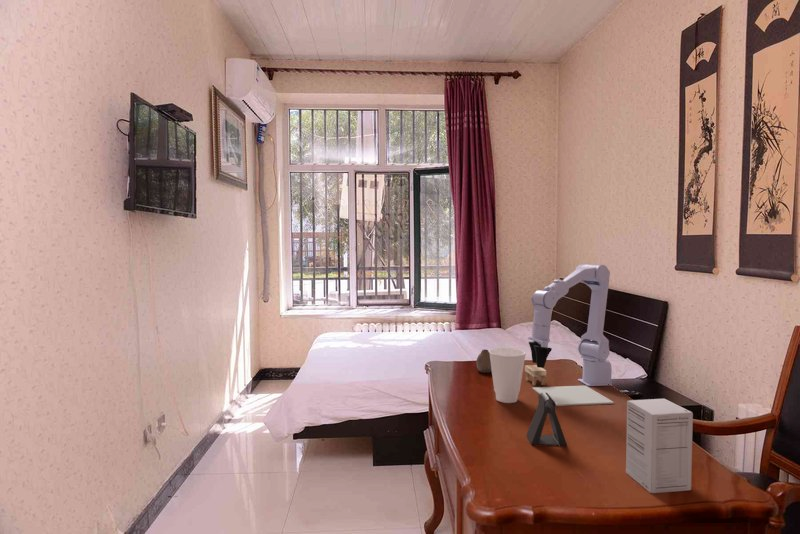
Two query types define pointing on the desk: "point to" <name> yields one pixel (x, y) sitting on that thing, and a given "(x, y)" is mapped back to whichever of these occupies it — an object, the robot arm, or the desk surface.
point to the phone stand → (539, 419)
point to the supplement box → (659, 445)
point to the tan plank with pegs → (535, 373)
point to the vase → (484, 362)
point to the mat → (573, 395)
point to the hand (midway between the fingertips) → (538, 365)
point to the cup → (507, 373)
